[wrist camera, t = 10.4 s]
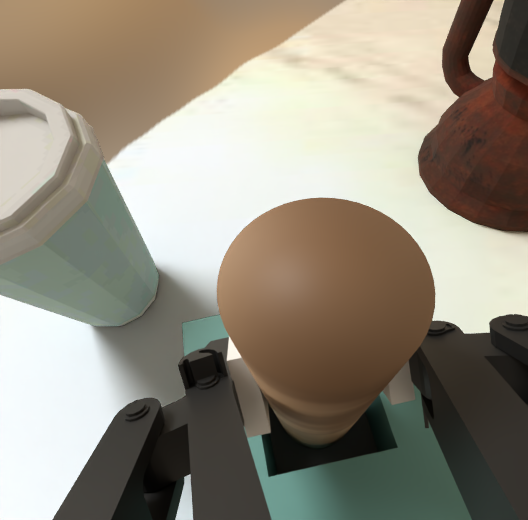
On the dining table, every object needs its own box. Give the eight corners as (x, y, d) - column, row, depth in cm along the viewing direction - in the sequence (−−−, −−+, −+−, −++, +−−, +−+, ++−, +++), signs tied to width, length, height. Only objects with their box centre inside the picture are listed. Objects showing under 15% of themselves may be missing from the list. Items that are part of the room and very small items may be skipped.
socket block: (268, 838, 14) (237, 1093, 8) (212, 359, 25) (181, 323, 19) (554, 772, 14) (724, 980, 9) (378, 321, 25) (399, 273, 19)
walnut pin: (287, 456, 18) (232, 416, 6) (271, 379, 20) (206, 220, 8) (362, 439, 18) (479, 359, 6) (339, 363, 20) (385, 180, 8)
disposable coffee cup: (209, 292, 28) (122, 138, 15) (89, 391, 25) (-146, 304, 12) (140, 219, 32) (30, 54, 20) (33, 294, 30) (-178, 158, 17)
